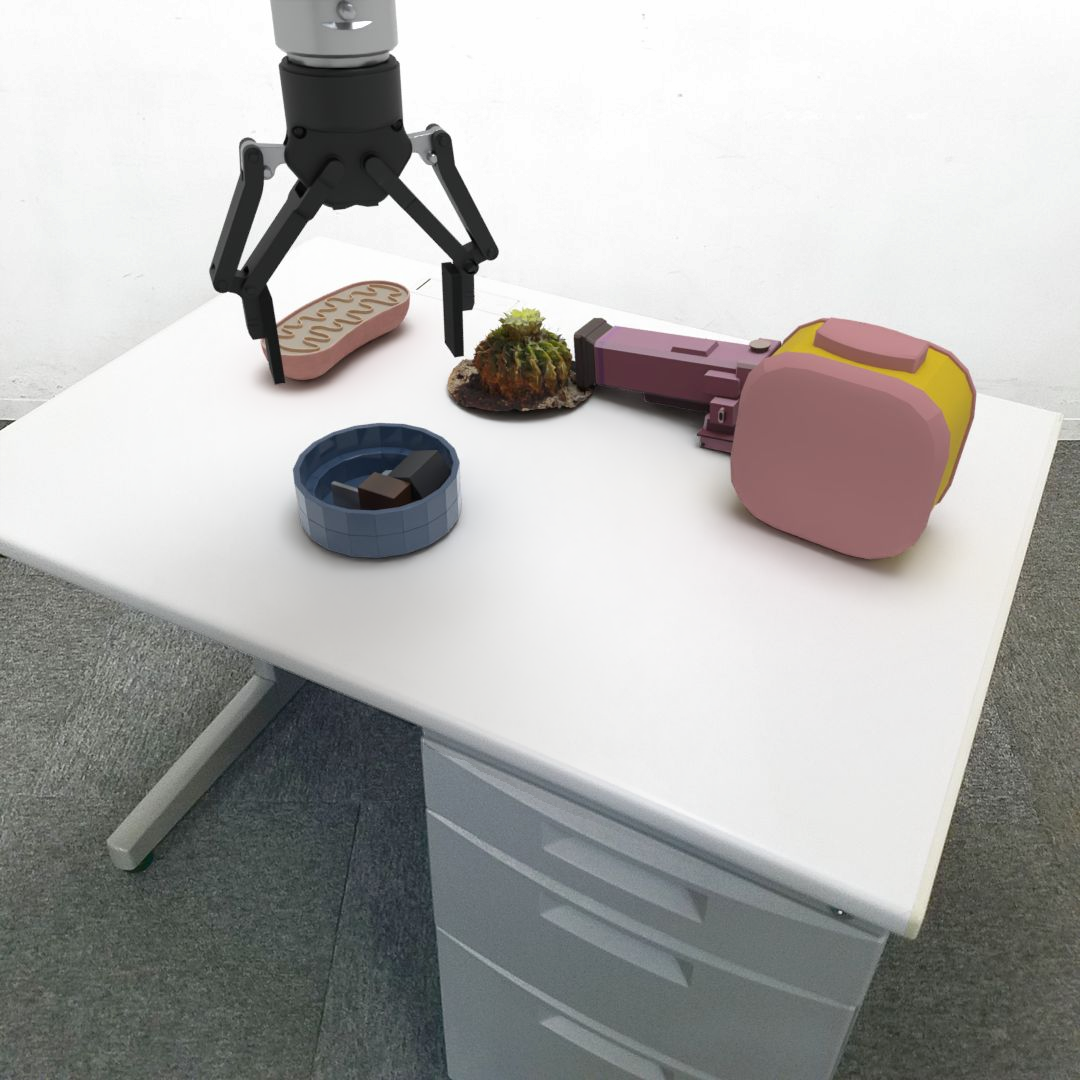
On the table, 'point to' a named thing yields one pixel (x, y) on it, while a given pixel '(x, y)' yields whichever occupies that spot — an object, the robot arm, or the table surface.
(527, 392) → the cactus
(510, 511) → the table surface
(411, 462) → the cube with grey tab
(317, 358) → the anatomical model
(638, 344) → the electronic device
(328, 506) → the bowl
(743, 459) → the alarm clock
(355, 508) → the blade walnut
